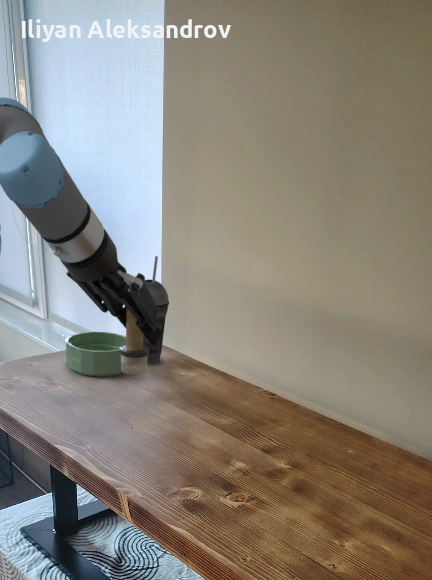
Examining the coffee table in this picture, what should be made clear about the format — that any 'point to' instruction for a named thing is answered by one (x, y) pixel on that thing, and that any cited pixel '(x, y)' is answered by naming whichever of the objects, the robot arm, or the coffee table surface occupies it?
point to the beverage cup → (162, 303)
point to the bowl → (95, 353)
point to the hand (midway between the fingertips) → (148, 336)
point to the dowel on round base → (133, 348)
